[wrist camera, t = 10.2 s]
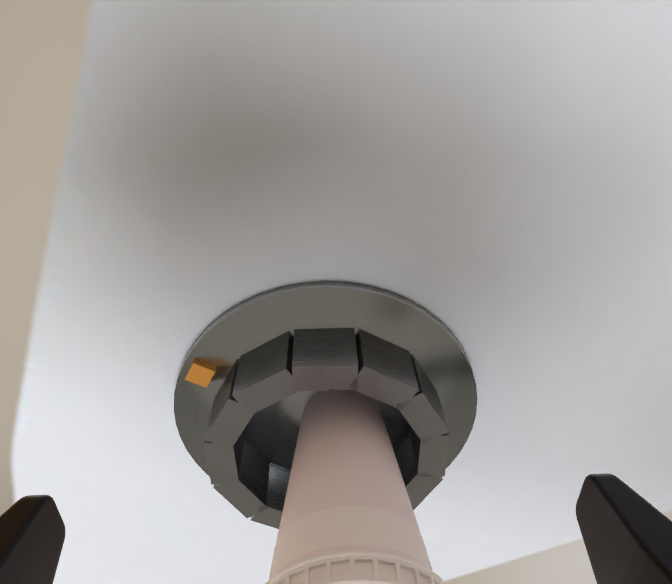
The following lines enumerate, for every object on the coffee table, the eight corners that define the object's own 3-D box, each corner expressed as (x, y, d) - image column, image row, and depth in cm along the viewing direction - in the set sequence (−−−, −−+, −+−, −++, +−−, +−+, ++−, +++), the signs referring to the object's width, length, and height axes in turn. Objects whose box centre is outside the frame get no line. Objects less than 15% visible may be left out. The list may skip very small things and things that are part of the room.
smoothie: (342, 483, 27) (364, 890, 15) (244, 421, 25) (174, 848, 13) (438, 413, 25) (553, 828, 13) (339, 338, 22) (367, 762, 10)
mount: (535, 360, 24) (562, 408, 21) (375, 532, 30) (380, 586, 27) (254, 225, 20) (244, 263, 17) (135, 453, 26) (115, 507, 24)
